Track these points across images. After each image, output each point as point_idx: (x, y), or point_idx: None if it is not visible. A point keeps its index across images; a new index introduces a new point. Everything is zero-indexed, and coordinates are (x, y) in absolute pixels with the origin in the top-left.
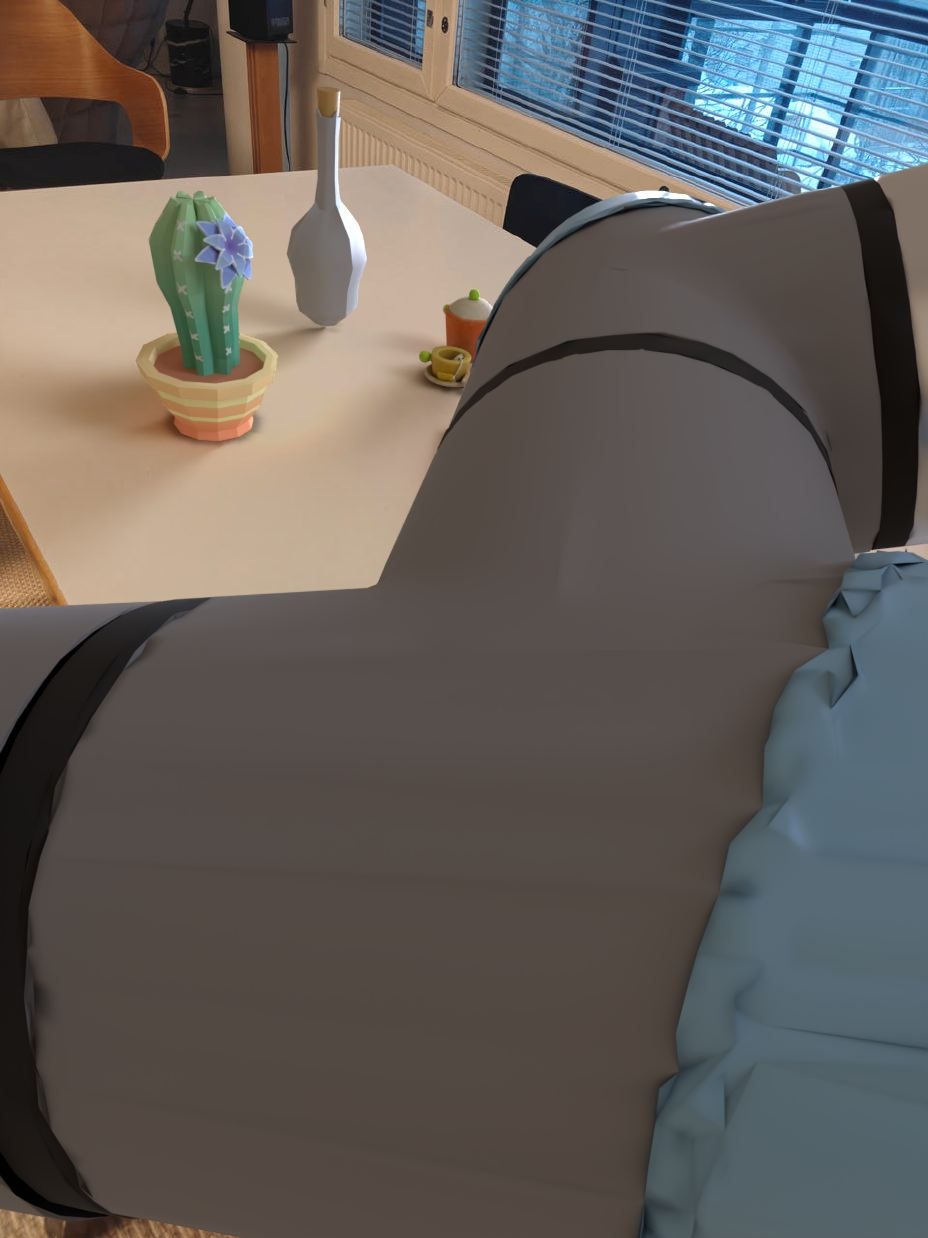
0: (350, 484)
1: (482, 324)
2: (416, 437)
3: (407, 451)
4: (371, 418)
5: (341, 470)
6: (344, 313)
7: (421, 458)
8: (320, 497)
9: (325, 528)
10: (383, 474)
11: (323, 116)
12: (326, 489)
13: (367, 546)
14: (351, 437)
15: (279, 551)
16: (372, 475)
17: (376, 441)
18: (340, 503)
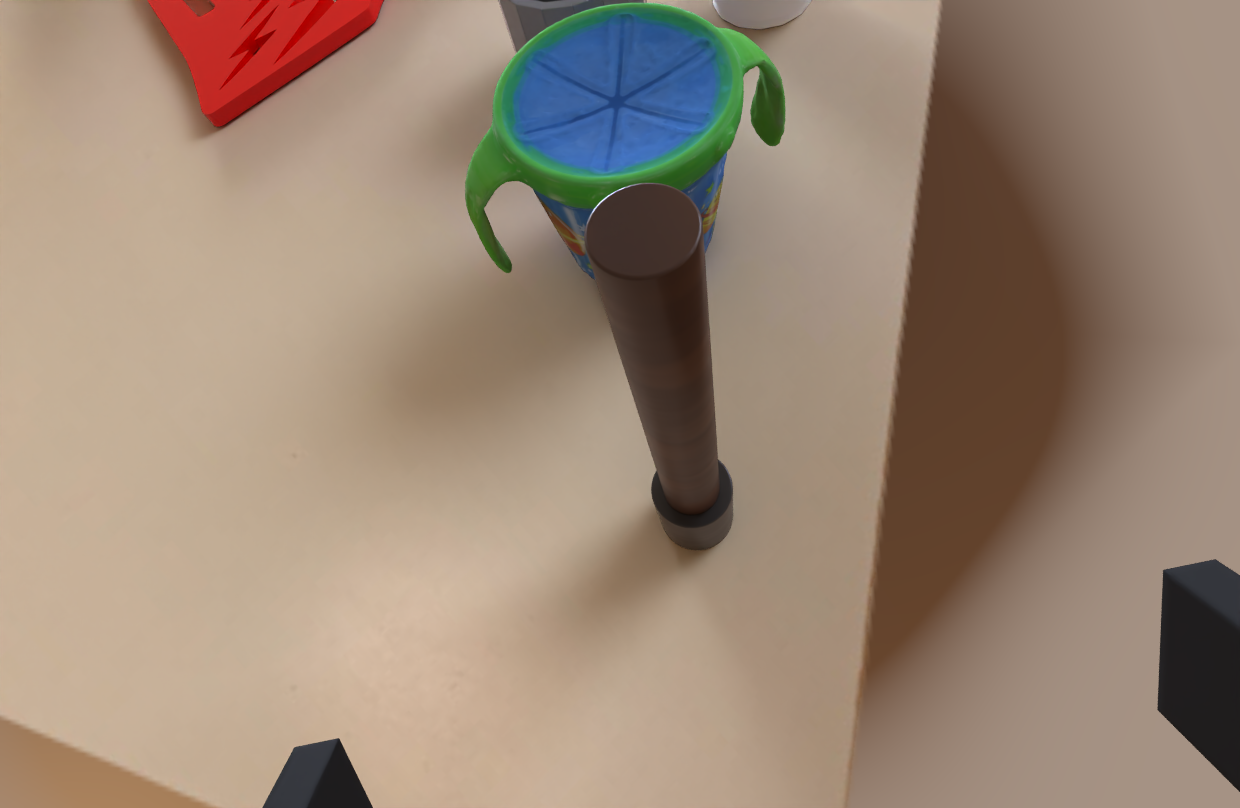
0: (73, 159)
1: None
2: (103, 32)
3: (108, 59)
4: (25, 51)
5: (45, 150)
6: None
7: (133, 54)
8: (49, 208)
9: (92, 244)
10: (104, 112)
11: None
12: (48, 191)
13: (166, 224)
14: (20, 96)
15: (59, 325)
16: (91, 125)
17: (57, 76)
18: (82, 195)
